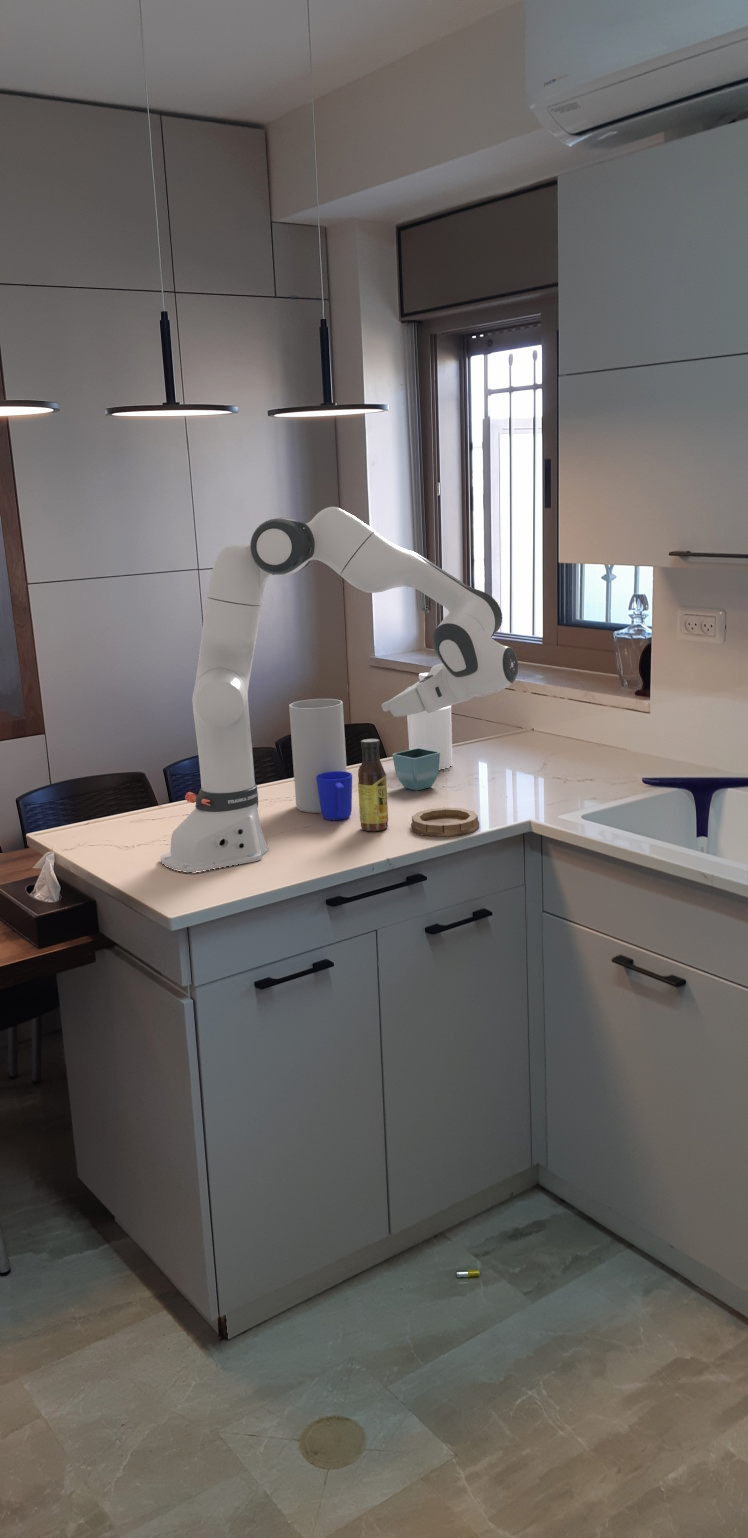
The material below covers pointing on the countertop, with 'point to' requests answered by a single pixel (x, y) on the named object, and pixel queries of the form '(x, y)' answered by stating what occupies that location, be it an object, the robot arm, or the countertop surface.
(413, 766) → the flower pot
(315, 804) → the cylinder vase
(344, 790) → the mug
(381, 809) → the sauce bottle
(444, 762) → the bottle
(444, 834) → the tray
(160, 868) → the countertop surface
